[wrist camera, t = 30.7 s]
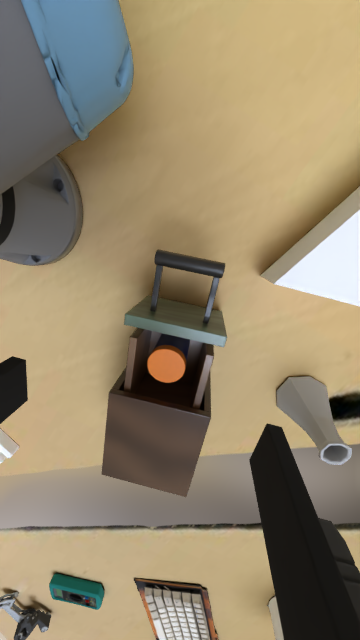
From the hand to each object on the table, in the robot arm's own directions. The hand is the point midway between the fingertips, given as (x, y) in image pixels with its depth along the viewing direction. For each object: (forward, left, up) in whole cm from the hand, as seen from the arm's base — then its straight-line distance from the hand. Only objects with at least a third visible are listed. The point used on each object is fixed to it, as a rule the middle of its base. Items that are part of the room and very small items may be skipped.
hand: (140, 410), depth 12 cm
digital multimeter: (+86, +17, -21) cm, 90 cm away
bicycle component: (+111, +9, -21) cm, 113 cm away
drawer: (+2, +1, -20) cm, 20 cm away
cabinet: (+14, +5, -21) cm, 25 cm away
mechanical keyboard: (+78, +46, -21) cm, 93 cm away
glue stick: (+4, +1, -19) cm, 19 cm away
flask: (+2, +22, -21) cm, 31 cm away
